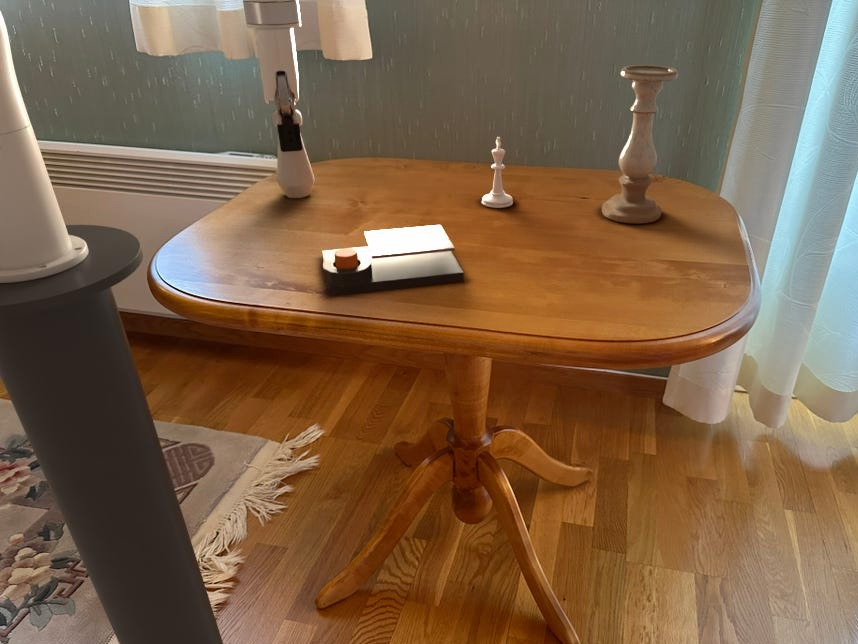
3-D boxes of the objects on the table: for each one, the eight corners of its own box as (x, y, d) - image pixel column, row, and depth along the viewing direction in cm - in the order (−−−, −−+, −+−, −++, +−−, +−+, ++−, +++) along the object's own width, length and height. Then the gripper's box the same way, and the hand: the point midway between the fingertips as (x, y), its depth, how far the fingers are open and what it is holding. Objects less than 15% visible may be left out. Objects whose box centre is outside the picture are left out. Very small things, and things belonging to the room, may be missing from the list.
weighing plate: (372, 259, 79) (371, 255, 79) (364, 234, 86) (363, 231, 86) (454, 250, 82) (454, 247, 82) (440, 227, 88) (440, 224, 88)
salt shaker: (272, 197, 107) (258, 112, 100) (290, 187, 112) (278, 104, 105) (305, 201, 106) (294, 115, 99) (322, 190, 111) (312, 107, 104)
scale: (327, 299, 77) (324, 275, 76) (320, 259, 87) (317, 237, 85) (465, 284, 81) (465, 260, 79) (444, 247, 90) (443, 225, 89)
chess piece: (508, 196, 108) (510, 132, 103) (516, 206, 104) (518, 140, 99) (478, 198, 107) (478, 134, 102) (485, 208, 103) (486, 142, 98)
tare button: (336, 272, 77) (335, 257, 76) (335, 263, 79) (333, 249, 78) (359, 269, 78) (358, 255, 77) (357, 260, 80) (355, 247, 79)
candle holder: (642, 229, 96) (663, 77, 86) (590, 215, 101) (604, 69, 90) (671, 213, 102) (694, 68, 91) (620, 200, 107) (637, 61, 96)
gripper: (246, 10, 101) (266, 135, 111) (243, 21, 87) (266, 163, 97) (297, 9, 103) (312, 132, 113) (302, 20, 89) (319, 159, 99)
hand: (291, 145), depth 105 cm, fingers closed on salt shaker, 4 cm apart
